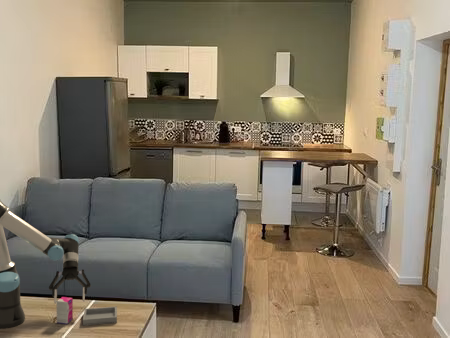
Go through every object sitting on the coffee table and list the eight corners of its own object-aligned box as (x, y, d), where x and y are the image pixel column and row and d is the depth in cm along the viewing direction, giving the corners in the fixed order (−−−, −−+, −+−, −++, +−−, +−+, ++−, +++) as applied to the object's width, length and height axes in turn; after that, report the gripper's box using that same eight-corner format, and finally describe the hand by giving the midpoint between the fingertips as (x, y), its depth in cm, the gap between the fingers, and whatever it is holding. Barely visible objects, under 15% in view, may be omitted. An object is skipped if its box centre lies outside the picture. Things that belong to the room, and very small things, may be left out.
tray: (83, 325, 233) (82, 319, 233) (84, 314, 246) (84, 308, 246) (116, 322, 237) (116, 317, 237) (116, 311, 249) (116, 306, 249)
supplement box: (67, 324, 234) (66, 302, 233) (56, 323, 236) (55, 301, 234) (73, 319, 240) (72, 297, 239) (62, 318, 241) (61, 296, 240)
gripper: (95, 264, 259) (95, 302, 247) (46, 267, 254) (44, 306, 241) (95, 257, 253) (95, 296, 241) (44, 261, 248) (42, 300, 235)
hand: (69, 301), depth 241 cm, fingers open, 13 cm apart
